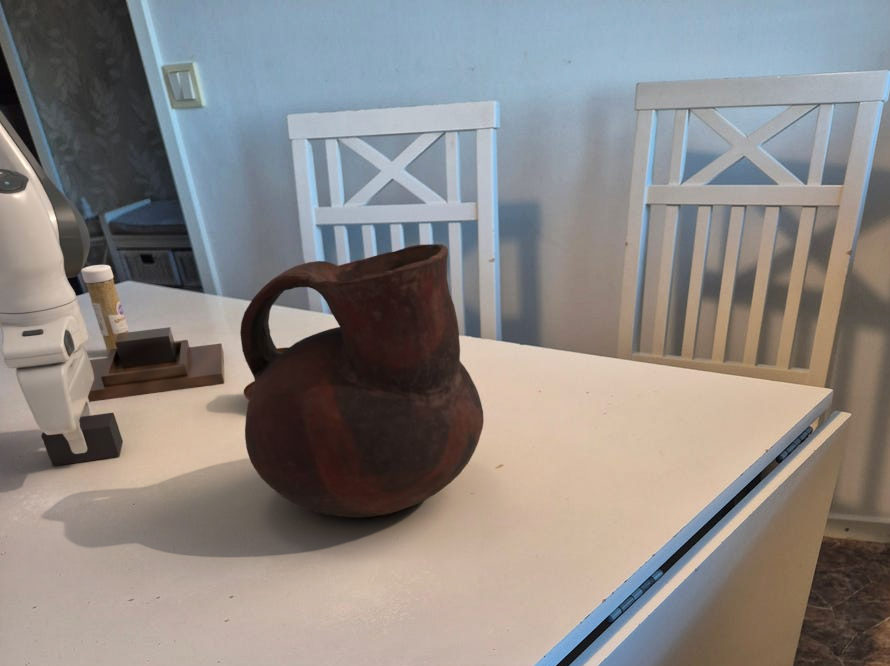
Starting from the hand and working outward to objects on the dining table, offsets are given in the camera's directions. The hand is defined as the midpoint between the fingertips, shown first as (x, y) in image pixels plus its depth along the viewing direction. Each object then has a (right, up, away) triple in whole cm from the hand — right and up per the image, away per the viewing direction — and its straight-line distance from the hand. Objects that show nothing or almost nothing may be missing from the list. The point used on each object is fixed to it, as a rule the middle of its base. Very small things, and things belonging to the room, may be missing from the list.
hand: (84, 441), depth 106 cm
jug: (+38, -9, -12) cm, 41 cm away
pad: (0, -1, +1) cm, 2 cm away
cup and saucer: (+23, +9, +13) cm, 28 cm away
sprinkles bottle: (-11, +24, +37) cm, 45 cm away
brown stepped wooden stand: (-1, +16, +25) cm, 30 cm away
